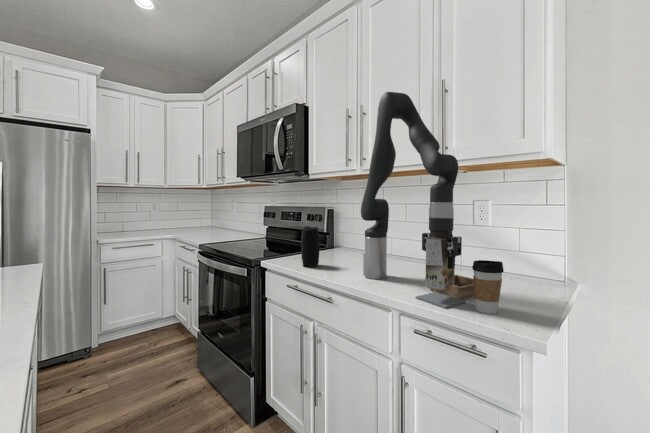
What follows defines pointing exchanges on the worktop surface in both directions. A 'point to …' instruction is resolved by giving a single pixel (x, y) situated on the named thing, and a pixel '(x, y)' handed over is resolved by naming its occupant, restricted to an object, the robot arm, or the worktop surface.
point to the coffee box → (438, 264)
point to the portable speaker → (310, 246)
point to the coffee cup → (487, 285)
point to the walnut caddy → (459, 288)
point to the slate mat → (440, 300)
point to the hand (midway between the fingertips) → (440, 266)
